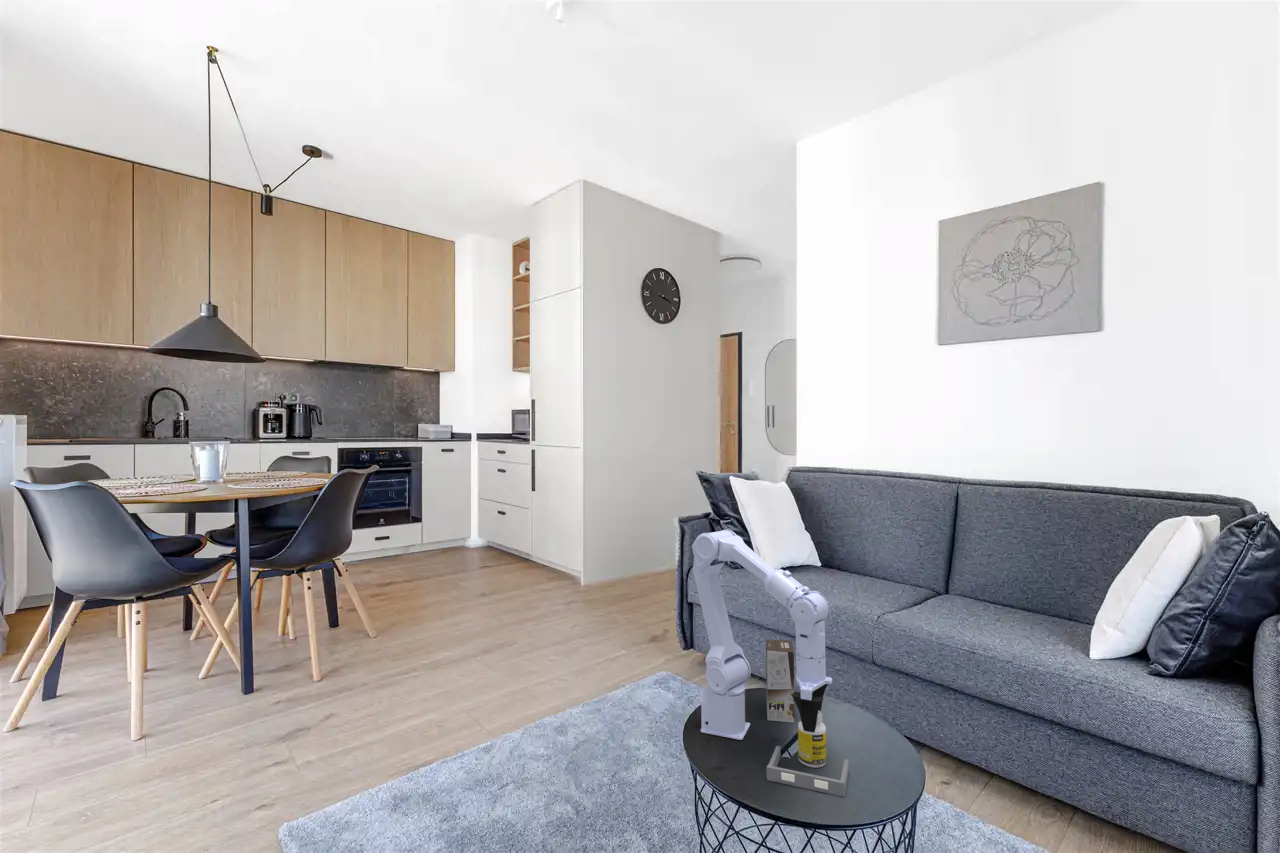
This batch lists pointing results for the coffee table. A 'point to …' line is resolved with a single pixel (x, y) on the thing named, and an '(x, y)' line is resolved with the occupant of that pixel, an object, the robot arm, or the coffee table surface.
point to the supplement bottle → (812, 744)
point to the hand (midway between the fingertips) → (812, 722)
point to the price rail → (807, 777)
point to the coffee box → (780, 680)
